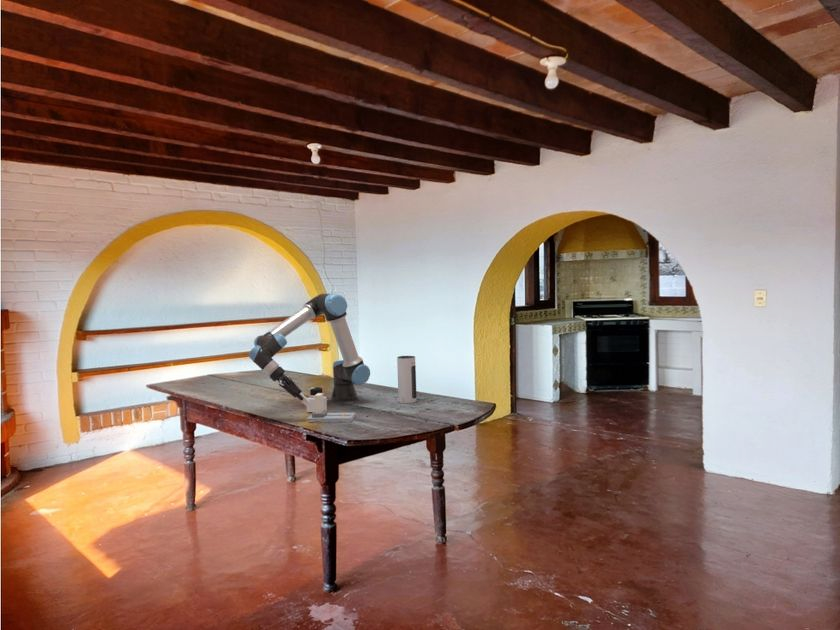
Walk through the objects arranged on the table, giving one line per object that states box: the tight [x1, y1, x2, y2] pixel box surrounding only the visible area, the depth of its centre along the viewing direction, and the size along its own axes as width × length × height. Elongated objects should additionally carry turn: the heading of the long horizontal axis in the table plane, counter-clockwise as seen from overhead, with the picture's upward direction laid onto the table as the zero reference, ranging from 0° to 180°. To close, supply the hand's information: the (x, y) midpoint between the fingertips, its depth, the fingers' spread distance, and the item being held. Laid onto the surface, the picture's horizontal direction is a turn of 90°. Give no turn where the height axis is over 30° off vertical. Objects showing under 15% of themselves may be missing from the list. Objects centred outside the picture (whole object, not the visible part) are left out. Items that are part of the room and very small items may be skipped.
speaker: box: [396, 355, 418, 405], centre depth 332 cm, size 11×10×26 cm
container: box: [306, 386, 328, 413], centre depth 313 cm, size 8×8×13 cm
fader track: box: [306, 412, 357, 423], centre depth 296 cm, size 12×22×2 cm, turn 85°
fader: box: [311, 392, 329, 417], centre depth 296 cm, size 8×6×10 cm
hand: (307, 403), depth 296 cm, fingers closed
